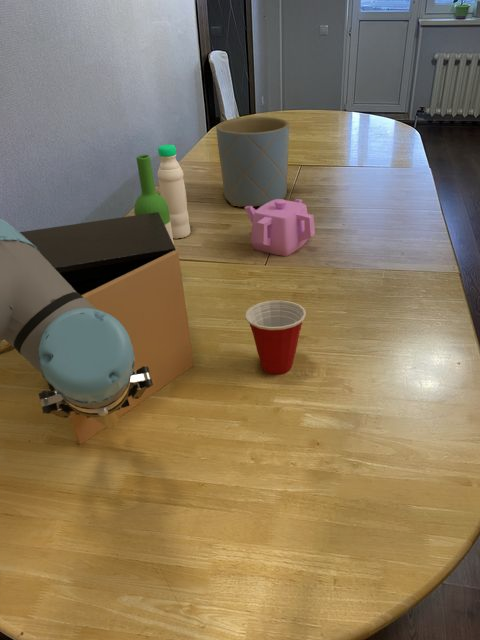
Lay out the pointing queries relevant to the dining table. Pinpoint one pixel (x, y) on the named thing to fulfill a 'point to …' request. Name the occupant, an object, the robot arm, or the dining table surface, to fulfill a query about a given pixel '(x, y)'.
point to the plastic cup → (276, 333)
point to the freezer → (102, 249)
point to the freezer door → (145, 329)
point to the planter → (253, 159)
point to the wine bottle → (150, 194)
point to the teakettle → (280, 226)
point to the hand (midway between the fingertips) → (101, 405)
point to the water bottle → (173, 191)
